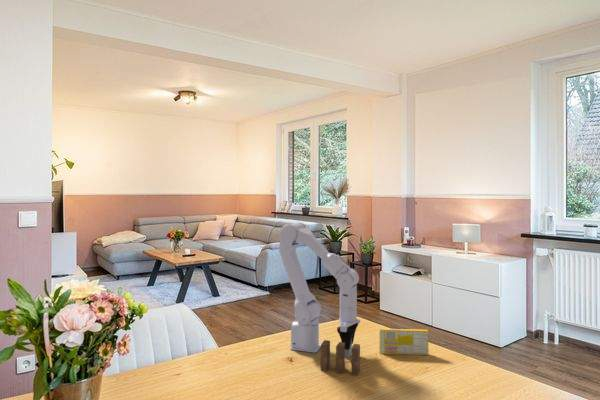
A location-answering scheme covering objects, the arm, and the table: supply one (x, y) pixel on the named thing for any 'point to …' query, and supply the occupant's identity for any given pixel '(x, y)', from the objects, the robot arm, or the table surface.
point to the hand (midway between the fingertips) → (347, 346)
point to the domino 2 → (340, 357)
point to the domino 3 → (348, 351)
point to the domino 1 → (325, 355)
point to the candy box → (403, 341)
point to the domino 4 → (355, 360)
